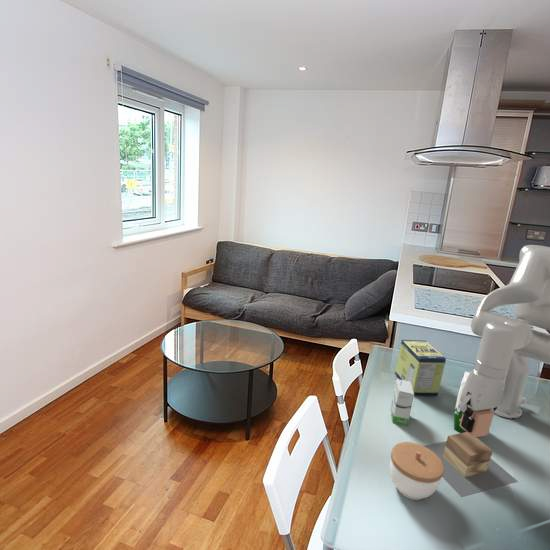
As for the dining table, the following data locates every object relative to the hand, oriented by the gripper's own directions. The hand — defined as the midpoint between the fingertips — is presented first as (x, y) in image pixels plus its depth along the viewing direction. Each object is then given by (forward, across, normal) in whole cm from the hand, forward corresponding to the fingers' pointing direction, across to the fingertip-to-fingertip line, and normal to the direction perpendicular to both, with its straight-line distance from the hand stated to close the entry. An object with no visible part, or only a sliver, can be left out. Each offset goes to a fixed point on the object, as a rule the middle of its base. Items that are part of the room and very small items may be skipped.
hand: (474, 427), depth 105 cm
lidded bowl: (+13, +21, +3) cm, 25 cm away
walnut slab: (+9, 0, 0) cm, 9 cm away
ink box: (+13, +5, -23) cm, 27 cm away
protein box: (+13, -15, -39) cm, 44 cm away
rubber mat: (+13, 0, 0) cm, 13 cm away
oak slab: (+12, 0, 0) cm, 12 cm away
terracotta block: (+1, 0, 0) cm, 1 cm away
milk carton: (+13, -14, -13) cm, 23 cm away
